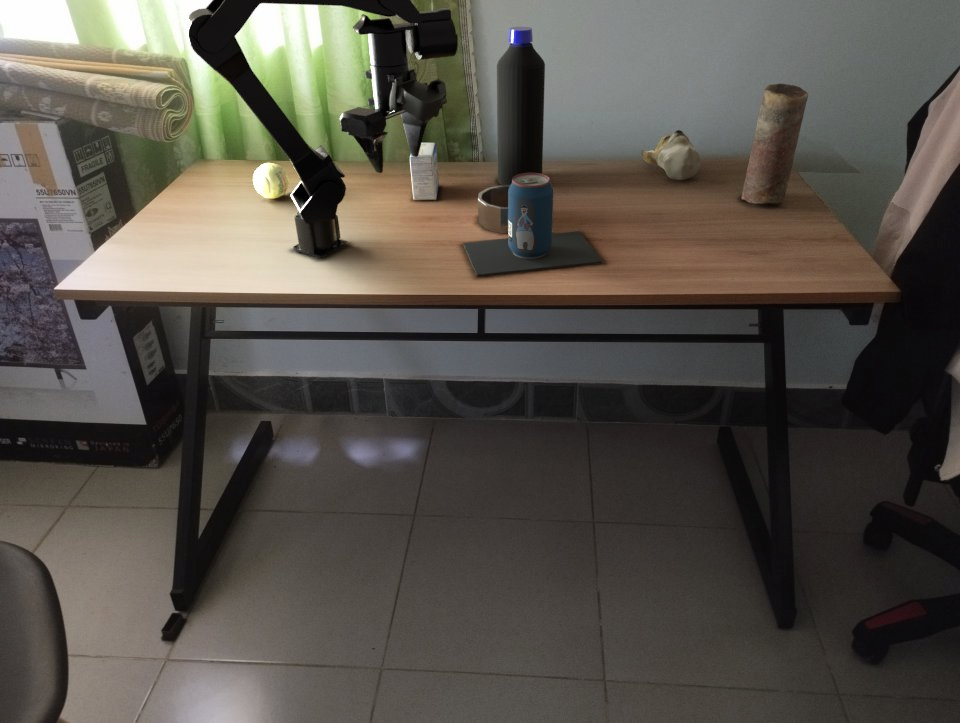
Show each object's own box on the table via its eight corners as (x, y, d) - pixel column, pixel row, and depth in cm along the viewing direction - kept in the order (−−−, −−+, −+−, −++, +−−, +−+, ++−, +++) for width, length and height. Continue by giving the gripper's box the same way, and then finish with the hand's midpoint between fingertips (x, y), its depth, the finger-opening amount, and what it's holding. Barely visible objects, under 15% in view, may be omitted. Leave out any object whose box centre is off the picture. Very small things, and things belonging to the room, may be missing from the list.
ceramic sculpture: (663, 139, 138) (640, 122, 151) (658, 185, 143) (636, 164, 156) (718, 137, 139) (691, 120, 152) (712, 183, 144) (686, 162, 157)
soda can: (543, 240, 122) (545, 169, 116) (557, 257, 117) (560, 184, 110) (503, 245, 121) (502, 173, 115) (515, 263, 116) (515, 189, 109)
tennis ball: (271, 206, 139) (265, 171, 135) (248, 199, 142) (241, 165, 138) (297, 196, 143) (292, 162, 139) (274, 189, 146) (268, 156, 143)
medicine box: (436, 200, 139) (433, 155, 135) (412, 201, 140) (409, 155, 135) (439, 185, 146) (436, 142, 141) (416, 186, 146) (413, 142, 141)
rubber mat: (476, 277, 113) (476, 274, 112) (463, 245, 123) (462, 242, 122) (602, 263, 116) (602, 261, 116) (579, 233, 126) (579, 230, 125)
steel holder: (521, 238, 124) (521, 213, 122) (466, 224, 130) (465, 200, 127) (553, 216, 132) (554, 191, 129) (500, 204, 137) (500, 180, 135)
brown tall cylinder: (779, 194, 138) (803, 83, 127) (789, 209, 132) (815, 93, 121) (737, 194, 139) (757, 83, 128) (745, 209, 133) (766, 93, 122)
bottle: (538, 189, 143) (542, 33, 128) (494, 187, 145) (492, 32, 129) (544, 174, 150) (548, 24, 135) (501, 172, 152) (501, 24, 136)
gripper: (391, 82, 102) (400, 191, 110) (467, 56, 115) (470, 156, 123) (331, 73, 107) (344, 178, 116) (411, 50, 120) (417, 145, 129)
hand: (397, 164), depth 121 cm, fingers open, 9 cm apart
